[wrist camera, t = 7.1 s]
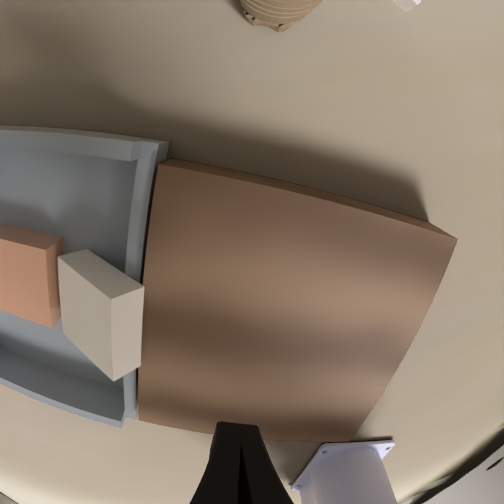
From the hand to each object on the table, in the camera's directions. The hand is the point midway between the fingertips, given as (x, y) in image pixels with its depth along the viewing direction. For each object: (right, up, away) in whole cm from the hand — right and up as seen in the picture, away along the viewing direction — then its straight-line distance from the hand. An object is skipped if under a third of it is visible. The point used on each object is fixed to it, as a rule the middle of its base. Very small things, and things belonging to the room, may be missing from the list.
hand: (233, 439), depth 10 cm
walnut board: (+2, +2, +9) cm, 10 cm away
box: (-12, +5, +7) cm, 15 cm away
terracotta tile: (-13, +5, +5) cm, 15 cm away
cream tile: (-7, +3, +6) cm, 10 cm away
